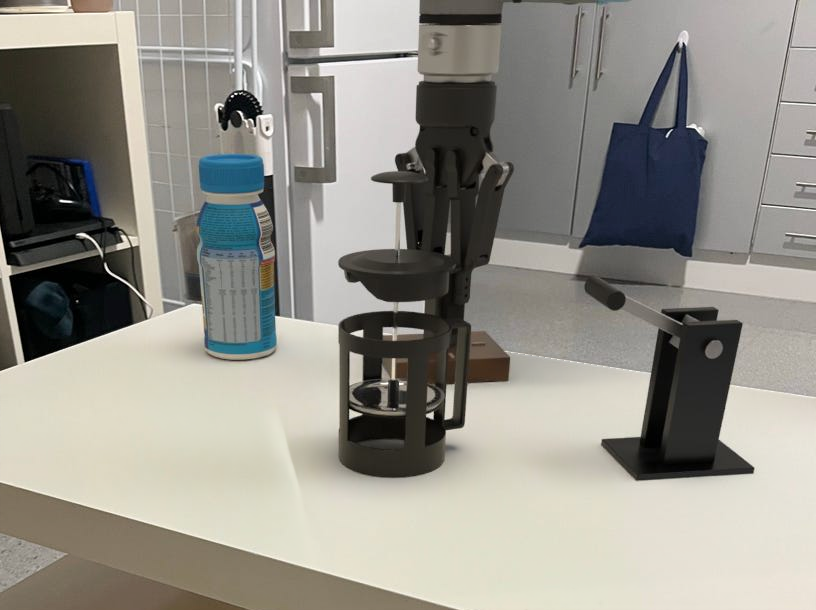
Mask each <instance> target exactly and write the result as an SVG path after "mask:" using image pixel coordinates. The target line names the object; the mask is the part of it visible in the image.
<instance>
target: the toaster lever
mask: <svg viewBox="0 0 816 610" xmlns="http://www.w3.org/2000/svg"><path fill="white" fill-rule="evenodd" d="M583 288H584V289H583V290H584V292H585V293H586V294H587V295H588V296H589V297H591V298H592V299H594V300H595V301H597V302H598V303H600V304H601V305H603V306H604V307H605V308H607V309H608V310H610V311H613V312H617V311H619V310H620V311H623V312H625V313H627V314H629V315H631V316H633V317H635V318H637V319H638V320H641V321H643V322H646V323H648V324H650V325H652V326H654V327H655V328H660V329H662V330H664V331H666V332H668V333H670V334H672V335H673V336H672V338H671V340H670V341H669V343H671V344H672V345H674V346H675V347H677V348H679V342H680V336H681V331H682V325H683V322H697V321H699V320H697V319H695V318H693V317H691V316H689V315H687V314H686V315H685V317H684V318H683V320H682V322H681V323H680V322H678V321H676V320H674V319H672V318H670V317H668V316H666V315H664V314H662V313H661V311H658V310H656V309H654V308H652V307H650V306H648V305H646V304H644V303H642V302H640V301H638V300H636V299H635V298H632V297H630V296H628V295H626V294H625V292H623V291H622V290H619V289H618V288H616V287H615V286H613V285H612V284H610V283H609V282H607V281H606V280H604V279H602V278H601V277H599V276H597V275H593V276H590V277H589V278H587V280H586V281H585V283H584V286H583Z"/></svg>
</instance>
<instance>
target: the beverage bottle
mask: <svg viewBox="0 0 816 610" xmlns="http://www.w3.org/2000/svg"><path fill="white" fill-rule="evenodd" d="M198 177H199V179H198V180H199V187H200V190H201V194H203V195H206V199H205V201H204V203H203V204H202V206H201V208H200V211H199V213H198V216H197V218H196V223H195V224H196V225H195V231H196V234H197V235H198V237H199V243H198V246H197V248H196V261H197V264H198V271H199V283H200V297H201V309H202V323H203V334H204V336H203V337H204V338H203V341H204V349H205V351H206V352H207V354H209V355H211V356H213V357H216V358H218V359H223V360H224V359H225V360H232V361H233V360H234V361H242V360H243V361H244V360H245V361H246V360H253V359H259V358H263V357H266V356H269V355H271V354H272V353H273V352H274V351H276V349H277V346H278V345H277V340H278V339H277V327H276V325H277V324H276V293H275V264H274V263H275V261H276V250H275V247H274V244H273V242H272V240H271V236H272V233H273V231H274V225H273V221H272V218H271V215H270V213H269V211H268V209H267V207H266V205H265V203H264V202H263V201H262V199H261V198H260V196H259V195H260V194H262V193H263V192H264V188H265V164H264V160H263V157H261V156H259V155H255V154H245V153H221V154H212V155H211V154H210V155H205V156H201V157H200V158H199V159H198Z"/></svg>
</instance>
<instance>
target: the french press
mask: <svg viewBox="0 0 816 610" xmlns="http://www.w3.org/2000/svg"><path fill="white" fill-rule="evenodd" d="M370 180H371V181H372V182H374V183H379V184H387V185H388V184H391V188H392V203H395V204H396V205H395V238H394V240H395V241H394V242H395V243H394V248H379V249H368V250H360V251H355V252H352V253H348V254H345V255H343V256H341V257H340V258H339V259H338V261H337V264H338V267H339V268H340V269H341V270H342V271H344V272H343V275H344V279H345V280H346V281H347V283H349V284H350V283H353V284H355V283H359V282H360V284H362V286H363V287H364V288H365V290H367V292H369V293H370V294H371V295H372V296H373V297H374V298H375V299H376V300H379V301H383V302H386V303H393V309H392V310H380V311H369V312H362V313H356V314H353V315H350V316H347V317H344V318H343V319H342V320H340V321H339V323H338V327H337V328H338V332H337V334H338V338H337V339H338V340H337V341H338V345H339V346H338V350H339V353H338V357H339V358H338V359H339V361H338V363H339V365H338V366H339V368H338V369H339V370H338V371H339V372H338V373H339V375H338V376H339V377H338V379H339V380H338V381H339V382H338V383H339V393H338V394H339V395H338V396H339V397H338V398H339V407H338V409H339V412H338V413H339V414H338V415H339V420H338V421H339V426H338V460H339V462H340V463H341V465H342V466H343V467H345V468H346V469H348V470H349V471H352V472H354V473H357V474H361V475H364V476H369V477H376V478H383V479H385V478H386V479H403V478H405V479H406V478H412V477H413V478H414V477H417V476H423V475H426V474H429V473H432V472H433V471H436V470H437V469H439V468H440V467H441V466H443V464H444V463H445V456H446V455H445V453H446V452H445V451H446V437H447V431H450V430H459V429H462V428H464V427H465V425H466V424H465V423H466V412H467V411H466V410H467V397H468V384H469V383H468V369H469V354H470V339H471V332H472V324H471V323H470V322H468V321H466V320H465V319H464V320H462V319H460V318H456V319H447V320H446V319H443V318H441V317H438V316H435V315H430V314H426V313H424V312H419V311H418V312H417V311H406V310H399V303H415V302H423V301H424V302H425V300H431V299H435V298H438V297H442V296H443V295H445V294H447V293H448V287H449V271H451V270H453V269H454V268H455V266H456V261H455V259H454V258H452V257H450V256H447V255H448V254H441V253H437V252H431V251H423V250H412V249H407V248H401V220H402V219H401V217H402V215H401V214H402V203H403V202H405V192H406V184H412V183H421V182H425V181H427V180H428V177H426V176H425V175H422V174H419V173H415V172H407V171H398V170H392V171H391V170H390V171H384V172H379V173H376V174H374V175H372V176H371V177H370ZM384 328H392V335H393V341H389V340H383V335H384ZM398 328H403V329H404V328H405V329H415V330H422V331H424V330H426V331H431V332H434V333H437V334H438V336H435V337H431V338H426V339H419V340H406V341H397V335H398ZM454 328H458V337H457V354H456V370H455V383H454V387H453V403H452V405H453V406H452V416H451V417H450V418H447V419H446V417H445V416H446V401H447V387H448V386H447V385H448V384H447V368H448V351H449V347H450V346H451V335H452V329H454ZM360 331H362V336H358V335H355V334H352V333H356V332H360ZM351 353H353V354H355V355H359V356H362V380H361V381H358V382H355V383H353V384H350V382H351V380H350V376H351V374H350V373H351V369H350V368H351V366H350V365H351V364H350V363H351V362H350V361H351V359H350V358H351V355H350V354H351ZM434 354H437V355H436V375H435V384H429V383H428V366H429V356H430V355H434ZM382 358H392V378H391V377H390V378H388V377H387V378H386V377H385V378H384V377H383V364H382ZM398 358H408V361H407V379H398V378H396V359H398ZM350 411H352V412H355V413H358V414H359V415H358V416H354V417H351V418H350ZM431 413H433V418H431V417H428V416H427V415H428V414H431ZM383 439H384V440H385V439H387V440H388V439H392V440H393V439H394V440H396V439H397V440H404V445H403V446H404V448H400V449H398V448H397V449H389V448H377V447H370V446H365V445H362V444H359V443H363V442H367V441H373V440H383Z"/></svg>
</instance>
